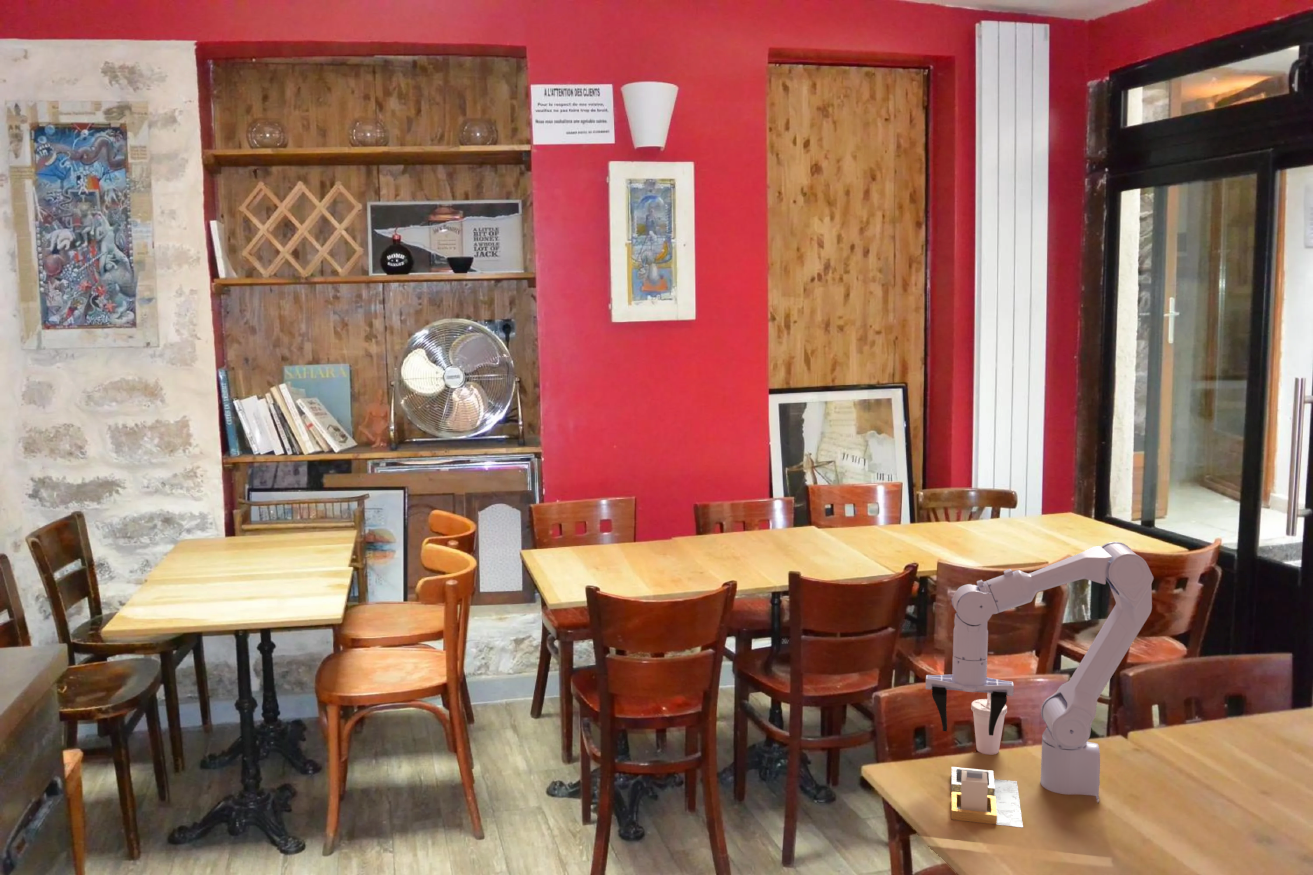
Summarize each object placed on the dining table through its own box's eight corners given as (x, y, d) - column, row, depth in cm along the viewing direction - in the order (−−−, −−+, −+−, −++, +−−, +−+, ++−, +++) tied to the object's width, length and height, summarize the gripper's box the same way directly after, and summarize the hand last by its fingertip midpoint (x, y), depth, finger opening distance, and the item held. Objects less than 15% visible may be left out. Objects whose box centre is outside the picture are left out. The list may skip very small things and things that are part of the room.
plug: (985, 806, 183) (986, 767, 182) (986, 818, 179) (987, 778, 178) (960, 804, 184) (961, 765, 183) (961, 815, 180) (962, 775, 179)
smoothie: (1001, 748, 208) (1004, 676, 206) (1009, 762, 202) (1011, 689, 200) (966, 747, 209) (968, 675, 207) (973, 761, 203) (975, 688, 201)
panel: (1016, 786, 192) (1017, 772, 192) (1022, 833, 176) (1023, 818, 176) (951, 779, 195) (951, 766, 195) (951, 825, 179) (951, 810, 179)
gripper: (926, 659, 188) (924, 735, 190) (1015, 666, 184) (1012, 744, 186) (926, 646, 195) (925, 720, 196) (1013, 652, 191) (1010, 728, 193)
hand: (967, 731), depth 192 cm, fingers open, 7 cm apart
